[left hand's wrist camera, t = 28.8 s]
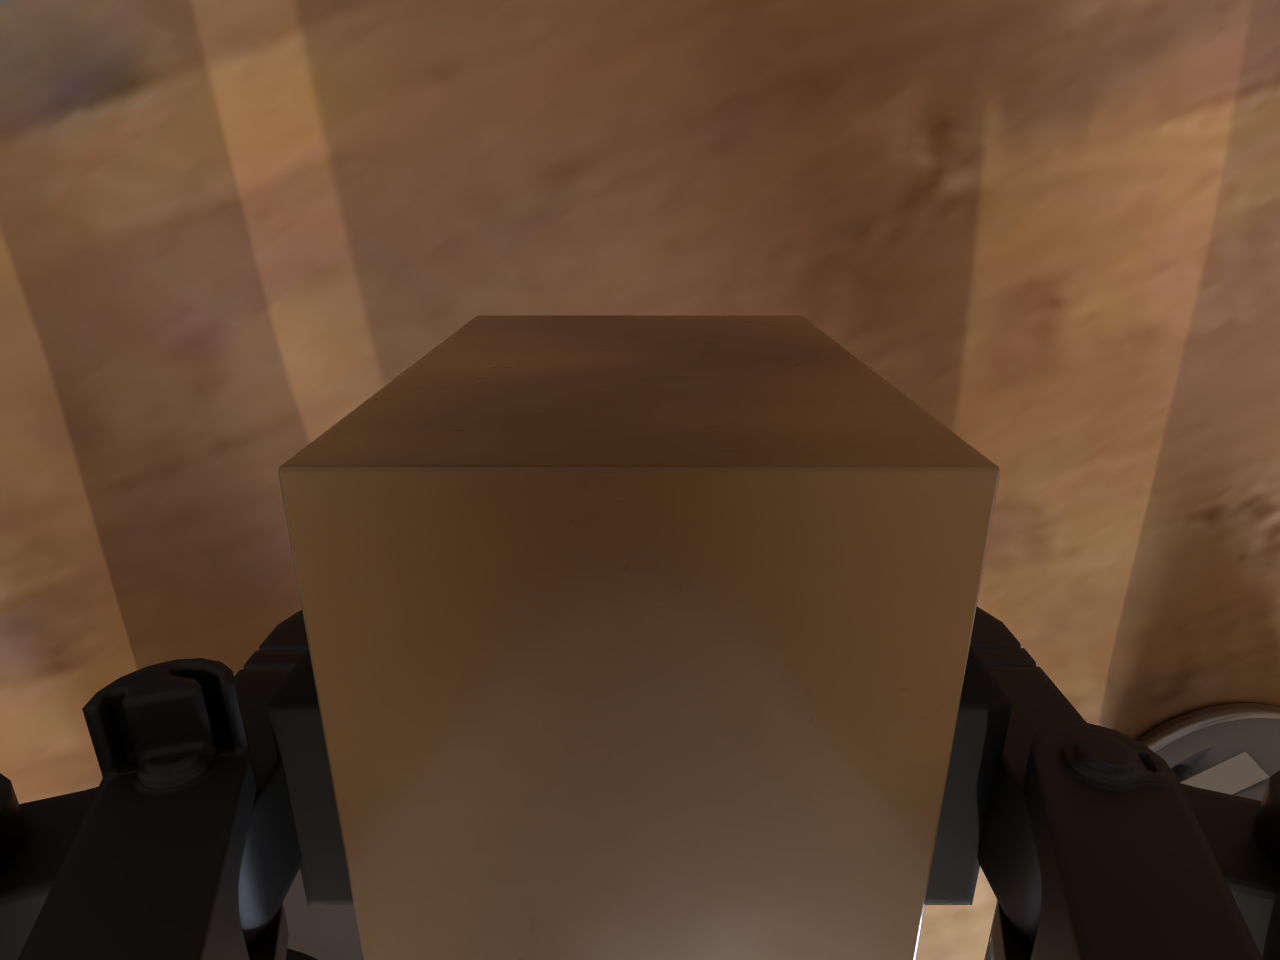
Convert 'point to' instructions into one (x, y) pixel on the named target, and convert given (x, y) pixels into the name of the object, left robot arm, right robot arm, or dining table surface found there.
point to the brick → (639, 642)
